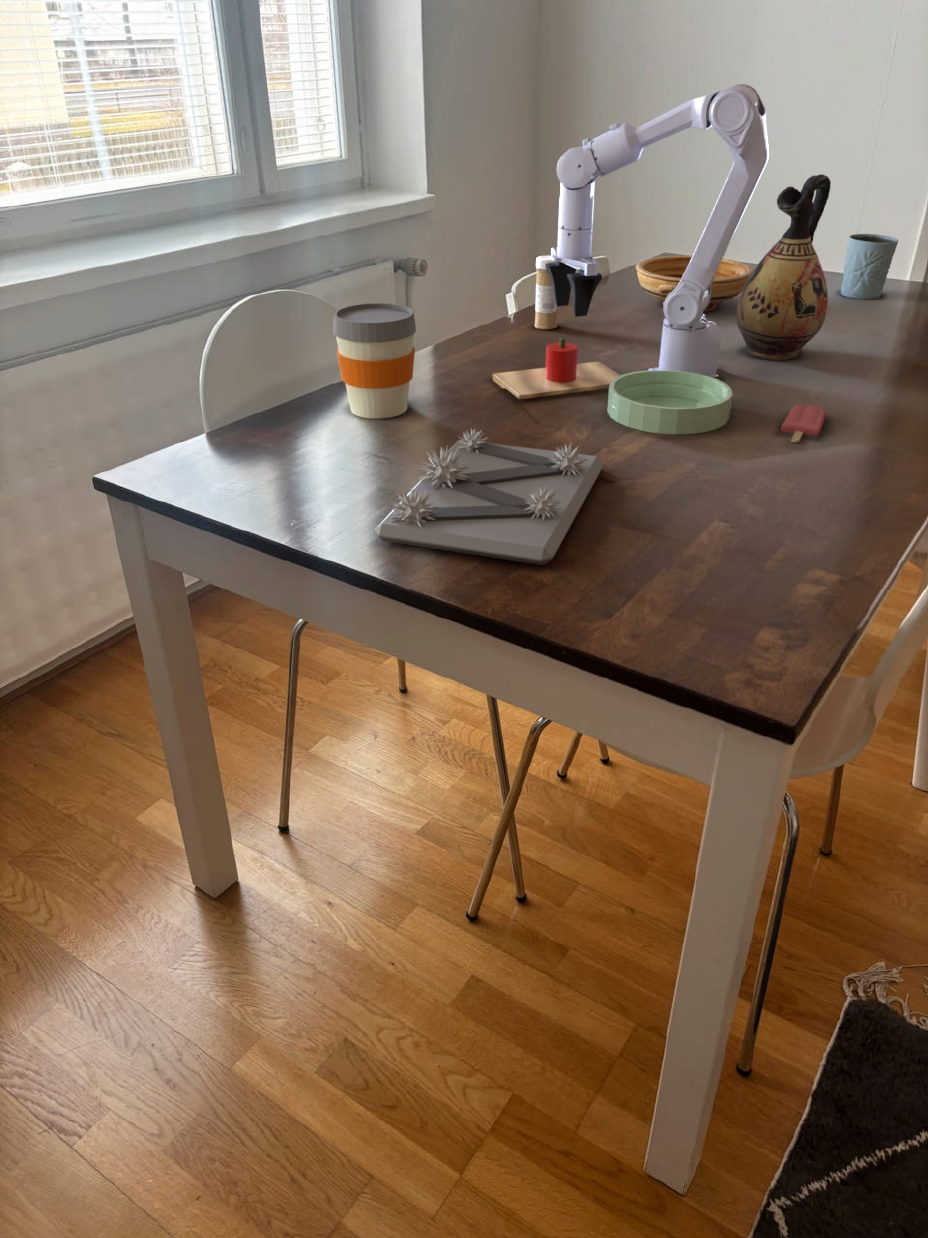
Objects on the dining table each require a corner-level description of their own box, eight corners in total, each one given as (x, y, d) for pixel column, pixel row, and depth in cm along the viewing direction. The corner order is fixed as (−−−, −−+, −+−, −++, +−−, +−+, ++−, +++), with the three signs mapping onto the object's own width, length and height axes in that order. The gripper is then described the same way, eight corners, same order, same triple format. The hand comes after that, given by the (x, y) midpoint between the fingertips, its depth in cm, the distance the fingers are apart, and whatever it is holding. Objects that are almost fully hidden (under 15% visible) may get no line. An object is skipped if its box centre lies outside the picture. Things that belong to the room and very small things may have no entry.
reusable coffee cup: (365, 391, 159) (359, 298, 151) (432, 402, 154) (430, 307, 146) (323, 415, 149) (315, 317, 141) (393, 427, 144) (389, 327, 136)
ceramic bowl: (657, 285, 222) (661, 249, 218) (762, 296, 212) (768, 258, 208) (611, 314, 200) (614, 274, 196) (726, 328, 190) (732, 287, 186)
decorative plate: (549, 573, 106) (552, 515, 102) (371, 545, 112) (367, 489, 108) (604, 470, 130) (608, 420, 126) (455, 452, 136) (454, 404, 132)
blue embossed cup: (834, 288, 218) (844, 232, 212) (880, 289, 217) (892, 233, 211) (842, 299, 210) (854, 241, 203) (890, 300, 208) (903, 242, 202)
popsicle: (776, 433, 137) (793, 401, 148) (774, 444, 138) (791, 411, 149) (815, 439, 135) (829, 406, 146) (813, 449, 136) (827, 416, 147)
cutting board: (598, 367, 169) (598, 361, 168) (630, 388, 159) (630, 381, 159) (492, 380, 163) (492, 373, 163) (519, 402, 154) (519, 395, 153)
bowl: (688, 391, 158) (691, 364, 155) (752, 429, 143) (756, 400, 140) (587, 404, 152) (589, 377, 150) (642, 445, 138) (645, 415, 135)
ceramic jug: (787, 371, 166) (820, 184, 151) (714, 352, 176) (738, 175, 160) (839, 352, 176) (875, 174, 160) (767, 335, 186) (794, 166, 170)
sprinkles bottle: (557, 324, 193) (561, 254, 186) (555, 330, 190) (558, 259, 182) (535, 323, 194) (537, 254, 187) (532, 329, 190) (534, 259, 183)
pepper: (568, 371, 163) (570, 332, 160) (581, 380, 159) (583, 340, 156) (540, 374, 162) (541, 335, 158) (552, 383, 158) (554, 343, 154)
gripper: (536, 221, 163) (533, 302, 171) (571, 236, 152) (567, 322, 159) (573, 218, 165) (569, 299, 173) (611, 233, 154) (605, 318, 161)
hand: (571, 310), depth 166 cm, fingers open, 7 cm apart
